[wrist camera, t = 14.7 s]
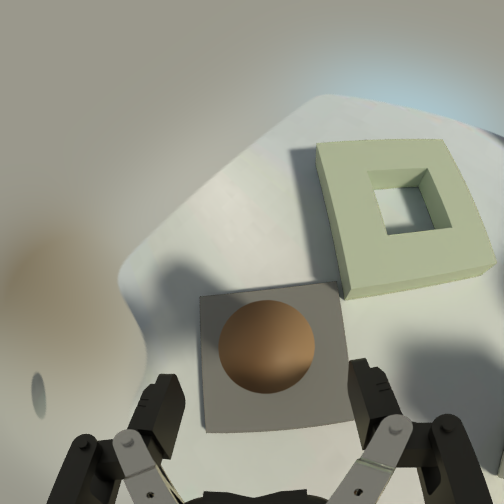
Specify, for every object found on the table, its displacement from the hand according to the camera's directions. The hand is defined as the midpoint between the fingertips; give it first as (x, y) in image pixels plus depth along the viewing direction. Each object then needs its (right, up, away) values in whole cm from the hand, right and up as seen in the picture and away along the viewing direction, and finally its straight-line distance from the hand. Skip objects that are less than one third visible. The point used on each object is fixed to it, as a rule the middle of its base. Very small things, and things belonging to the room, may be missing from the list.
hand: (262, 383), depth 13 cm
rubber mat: (+1, -2, +9) cm, 9 cm away
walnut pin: (+1, -2, +9) cm, 9 cm away
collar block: (+13, +9, +13) cm, 21 cm away
